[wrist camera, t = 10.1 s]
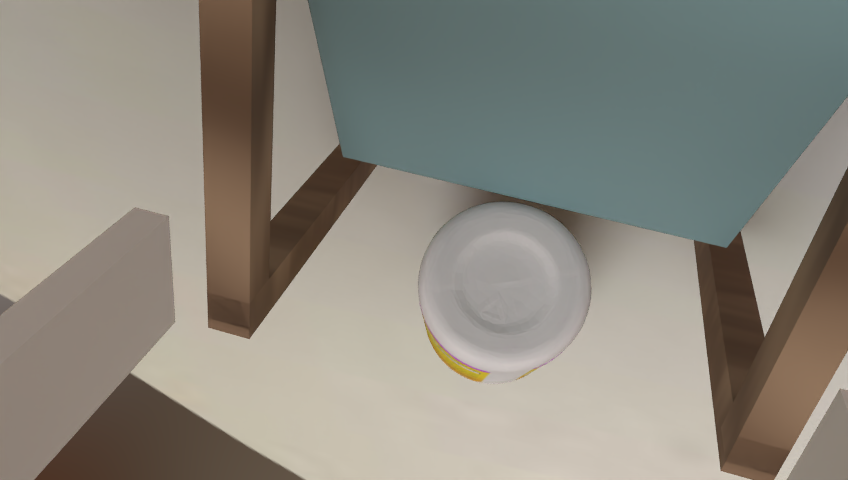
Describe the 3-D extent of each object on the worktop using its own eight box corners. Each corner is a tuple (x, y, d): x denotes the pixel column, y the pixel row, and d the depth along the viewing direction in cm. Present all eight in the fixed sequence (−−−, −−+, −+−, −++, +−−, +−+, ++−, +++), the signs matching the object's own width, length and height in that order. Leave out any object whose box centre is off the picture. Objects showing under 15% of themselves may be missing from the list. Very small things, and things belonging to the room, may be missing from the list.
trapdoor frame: (397, -268, 29) (189, -328, 16) (896, -193, 26) (1155, -189, 13) (359, 145, 39) (208, 327, 25) (723, 231, 36) (770, 484, 23)
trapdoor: (284, -201, 17) (268, -173, 17) (965, -87, 15) (966, -53, 15) (350, 136, 30) (342, 156, 30) (729, 224, 28) (726, 247, 27)
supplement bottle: (405, 209, 28) (417, 274, 41) (430, 383, 27) (434, 396, 39) (578, 184, 29) (537, 257, 41) (613, 357, 27) (559, 378, 39)
